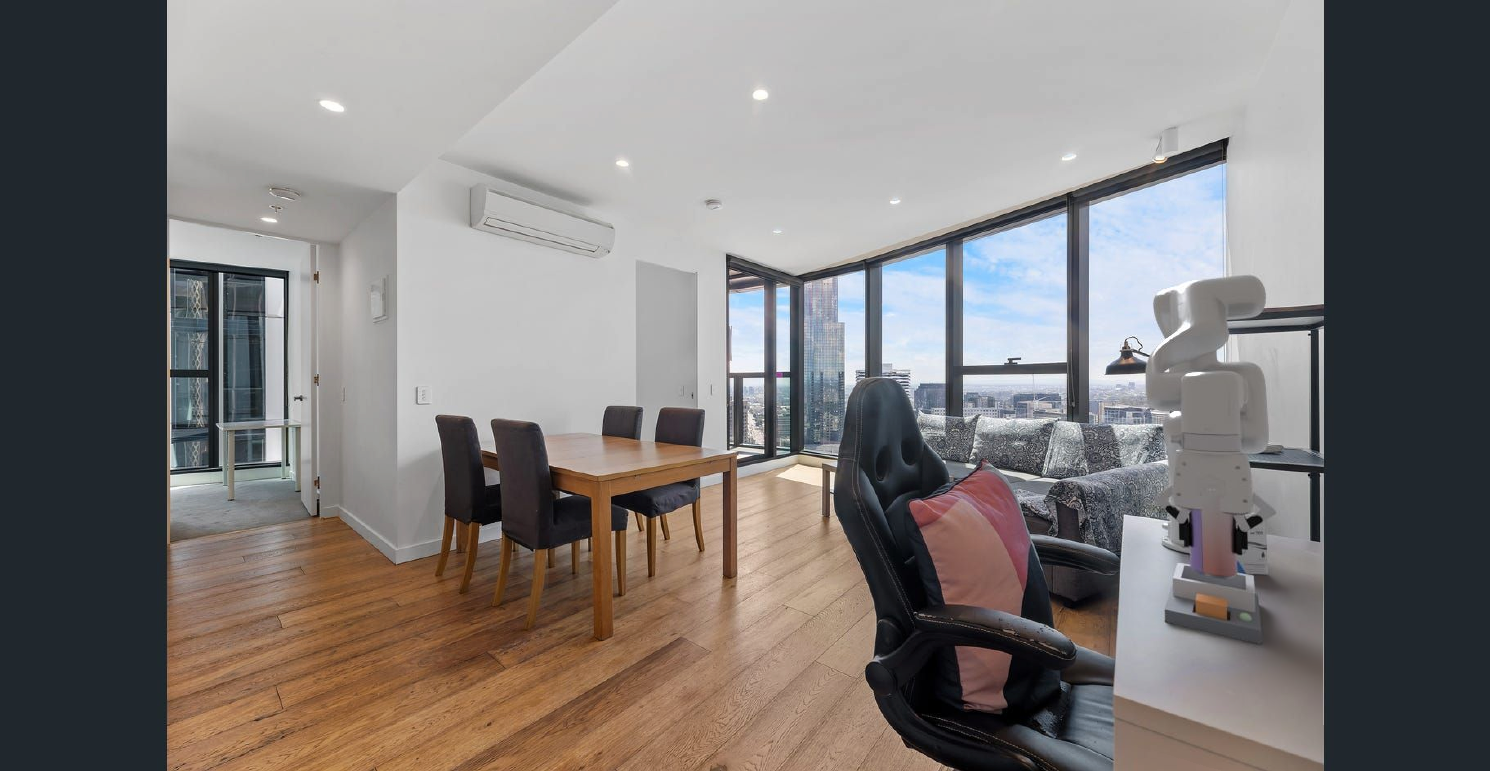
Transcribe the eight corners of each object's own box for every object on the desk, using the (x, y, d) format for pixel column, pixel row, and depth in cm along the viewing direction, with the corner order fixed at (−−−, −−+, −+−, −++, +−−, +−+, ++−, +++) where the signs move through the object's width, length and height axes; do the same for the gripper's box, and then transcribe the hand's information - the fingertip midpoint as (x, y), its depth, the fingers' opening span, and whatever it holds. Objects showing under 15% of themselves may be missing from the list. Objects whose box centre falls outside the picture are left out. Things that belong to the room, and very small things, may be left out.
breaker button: (1197, 612, 85) (1196, 593, 85) (1227, 619, 82) (1226, 599, 82) (1195, 620, 82) (1195, 600, 82) (1226, 627, 79) (1226, 606, 79)
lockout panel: (1175, 588, 96) (1174, 561, 96) (1258, 604, 89) (1257, 575, 89) (1164, 621, 83) (1164, 590, 83) (1261, 644, 76) (1260, 610, 76)
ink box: (1221, 574, 102) (1220, 515, 102) (1202, 565, 107) (1200, 509, 107) (1269, 575, 101) (1268, 515, 101) (1247, 566, 106) (1245, 509, 106)
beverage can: (1182, 570, 90) (1180, 484, 90) (1203, 565, 92) (1201, 481, 92) (1224, 582, 85) (1222, 490, 85) (1245, 576, 87) (1243, 487, 87)
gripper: (1144, 442, 92) (1146, 544, 92) (1284, 449, 80) (1287, 566, 80) (1149, 439, 97) (1151, 534, 97) (1281, 445, 85) (1284, 554, 85)
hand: (1212, 548), depth 88 cm, fingers closed on beverage can, 6 cm apart
